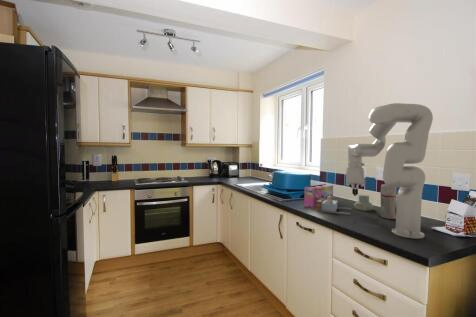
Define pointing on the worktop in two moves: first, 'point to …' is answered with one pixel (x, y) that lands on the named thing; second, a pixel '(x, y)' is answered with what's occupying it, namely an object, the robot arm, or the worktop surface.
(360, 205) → the air freshener
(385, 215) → the spray can
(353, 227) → the worktop surface
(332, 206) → the block
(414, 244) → the worktop surface
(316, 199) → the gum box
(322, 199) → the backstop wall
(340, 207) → the track board
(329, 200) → the dowel
